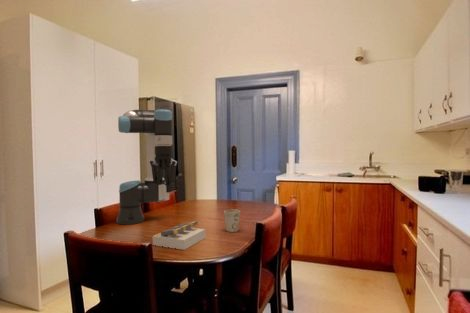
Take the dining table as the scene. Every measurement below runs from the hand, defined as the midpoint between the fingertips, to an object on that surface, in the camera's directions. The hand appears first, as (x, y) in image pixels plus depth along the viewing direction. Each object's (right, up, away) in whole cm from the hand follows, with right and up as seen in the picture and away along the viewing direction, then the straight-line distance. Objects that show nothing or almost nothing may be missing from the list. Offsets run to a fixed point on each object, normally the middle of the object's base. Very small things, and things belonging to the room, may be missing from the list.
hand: (164, 199), depth 128 cm
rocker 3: (+8, -13, +10) cm, 18 cm away
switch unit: (+6, -19, +4) cm, 21 cm away
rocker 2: (+6, -13, +4) cm, 15 cm away
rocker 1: (+4, -13, -1) cm, 14 cm away
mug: (+29, -19, +24) cm, 42 cm away
